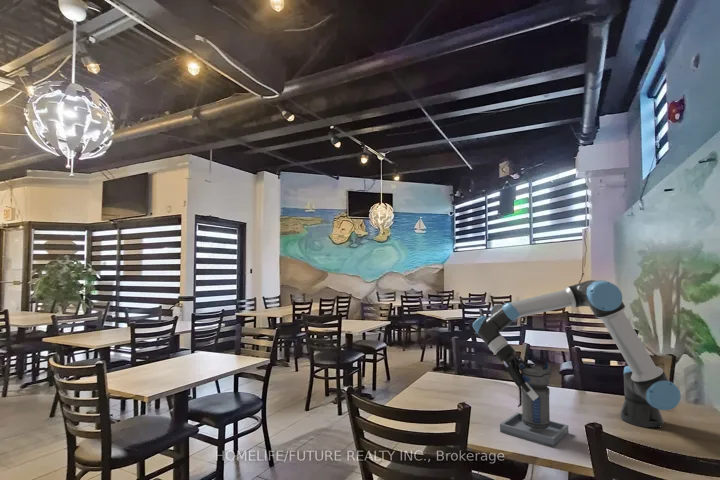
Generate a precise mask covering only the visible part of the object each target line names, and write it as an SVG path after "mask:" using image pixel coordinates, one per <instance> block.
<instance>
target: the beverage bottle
mask: <svg viewBox="0 0 720 480" xmlns="http://www.w3.org/2000/svg"><path fill="white" fill-rule="evenodd" d="M524 364H525V365H528V366H527V367H525V365H524ZM517 365H518V367H519V369H520V370H519V371H520V373H521V375H522V377H523V379H524V381H525V383H526V382H527V383H528V384H529V385H530V386H531V388H532V389H533V390H534V391H535V392H536V394H537V395H538V396H539V397H538V398H537V399H535V400H534V401H533V400H532V399H531V398H530V396H529V395H528V394H527V393H526V392H525V390H524V389H523V388H522V387H521V386H520V387H518V393H519V394H518V395H519V396H518V398H519V404H518V405H517V408H520V407H522V414H523V415H522V421H523V423H524V424H525V425H527V426H529V427H531V428H535V429H545V428H548V427H549V425H550V421H551V419H550V417H551V416H550V391H551V389H550V388H549V387H548V386H549V385H550V378H551V376H552V366H551V364H550V363H549V361H545V365H541V364H536V363H532V362H531V363H530V362H526V361H525V360H523V361H518V362H517V363H515V367H516V366H517Z"/></svg>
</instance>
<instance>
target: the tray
mask: <svg viewBox="0 0 720 480" xmlns="http://www.w3.org/2000/svg"><path fill="white" fill-rule="evenodd" d="M522 415H523V412H521V413H520V412H516V413H514V414H513V415H511V416H510V417H509V418H507V419H505V420H504V421H502V422H501V423H499V432H500V433H502V434H506V435H511V436H513V437H517V438H520V439H523V440H527V441H530V442H533V443H537V444H540V445H543V446H546V447H550V448H552V449H553V448H555V447H556V446H557V445H558V444H559V443H560V442H562V440H563V439H564V438H566V436H567V435H568V434H569V424H564V423H561V422H557V421H554V420H550V425H549V427H548V428H545V429H535V428H531V427H529V426H527V425H525V424H524V423H523V421H522Z"/></svg>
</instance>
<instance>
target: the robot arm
mask: <svg viewBox="0 0 720 480" xmlns="http://www.w3.org/2000/svg"><path fill="white" fill-rule="evenodd" d="M570 307H571V308H573V309H574V308H580V307H589V308H590V310H591V312H592V313H593V315H594V316H595V318H596V319H599V320H601V321H602V323H603V324H604V326H605V328H606V329H607V331H608V333H609V335H610V336H611V338H612V340H613V342H614V343H615V345H616V346H617V348H618V350H619V351H620V353H621V355H622V357H623V359H624V361H625V362H626V364H627V365H626V366H624V368H623V388H624V390H623V392H624V402H623V404H622V407H621V410H620V412H619V414H620V419H621V420H622V421H624V422H626V423H628V424H631V425H634V426H637V427H643V428H648V427H660V426H663V424H664V418H663V416H662V414H661V411H671V410H673V409H674V408H676V407H677V406H679V405H680V401H681V397H682V394H681V391H680V389H679V387H678V386H677V385H676V384H675V383H674V382H672V381H670V379H669V378H668V376H667V374H666V373H665V371H664V369H663V368H662V367H659V366H656V364H655V362H654V361H653V359H652V357H651V356H650V354H649V352H648V351H647V349H646V348H645V345H644V344H643V342H642V340H641V339H640V337H639V335H638V334H637V332H636V330H635V328H634V326H632V324H631V322H630V320H629V318H628V316H627V315H626V313H625V312H624V311H625V309H626V305H625V304H624V302H623V294H622V292H621V290H620V288H619V287H618V286H617V285H616V284H614V283H613V282H609V281H607V280H594V279H593V280H592V279H591V280H586V281H582V282H580V283H576V284H573V285H570V286H567V287H565V289H562V290H558V291H555V292H550V293H546V294H540V295H536V296H533V297H528V298H525V299H524V298H523V299H520V300H515V301H510V302H506V303H503V304H499V303H498V304H495V305H493V306H492V308H491V310H490V316H488V317H487V316H485V315H481V316H480V317H478V318H477V319H476V320H474V321H473V323H472V328H473V330H474V331H475V333H476V334H477V335H478V336H479V338H480V339H481V340H482V342H484V344H485V345H486V346H487V347H488V348H489V351H491V352H492V353H493V354H495V357H496V358H497V359H498V361H499V362H503V363H502V366H503V368H505V370H506V372H507V373H508V375H509V377H511V379H512V380H513V382H514V384H515V385H516V386H517V387H518V388H519V387H520V386H521V389H522V388H523V389H524V390H525V392H526V393H527V394H528V395H529V396H530V398H531V399H532V400H533V401H534V400H535V399H537V398H538V397H539V396H538V395H537V394H536V392H535V391H534V390H533V389H532V388H531V386H530V385H529V384H528V383H527V382H526V383H525V381H524V379H523V377H522V375H521V371H520V369H519V367H518V365H517V366H516V367H515V363H517V362H518V361H524V360H523V358H522V357H521V356H520V355H518V356H516V355H515V352H516V350H515V349H514V348H513V346H511V345H510V344H509V343H508V341H507V340H506V338H505V337H504V336H503V335H502V334H501V333H500V332H501V331H503V330H504V329H505V328H507V327H508V326H510V325H511V324H512V323H513V322H515V321H516V320H517V319H518V318H524V317H528V316H532V315H538V314H541V313H546V312H551V311H555V310H560V309H564V308H570ZM524 365H525V364H524ZM527 366H528V365H525V367H527ZM663 427H664V426H663Z"/></svg>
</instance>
